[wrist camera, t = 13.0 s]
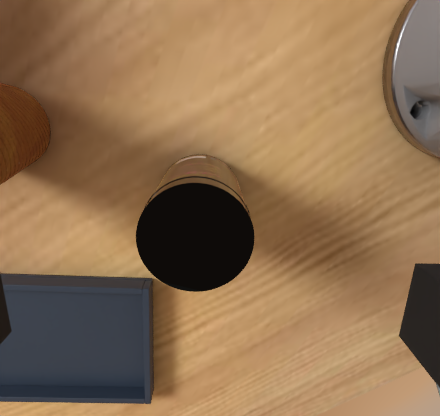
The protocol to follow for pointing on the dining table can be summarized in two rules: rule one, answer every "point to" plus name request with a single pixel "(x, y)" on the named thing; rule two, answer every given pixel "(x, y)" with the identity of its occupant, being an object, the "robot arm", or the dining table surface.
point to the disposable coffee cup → (20, 131)
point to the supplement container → (196, 226)
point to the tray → (77, 339)
